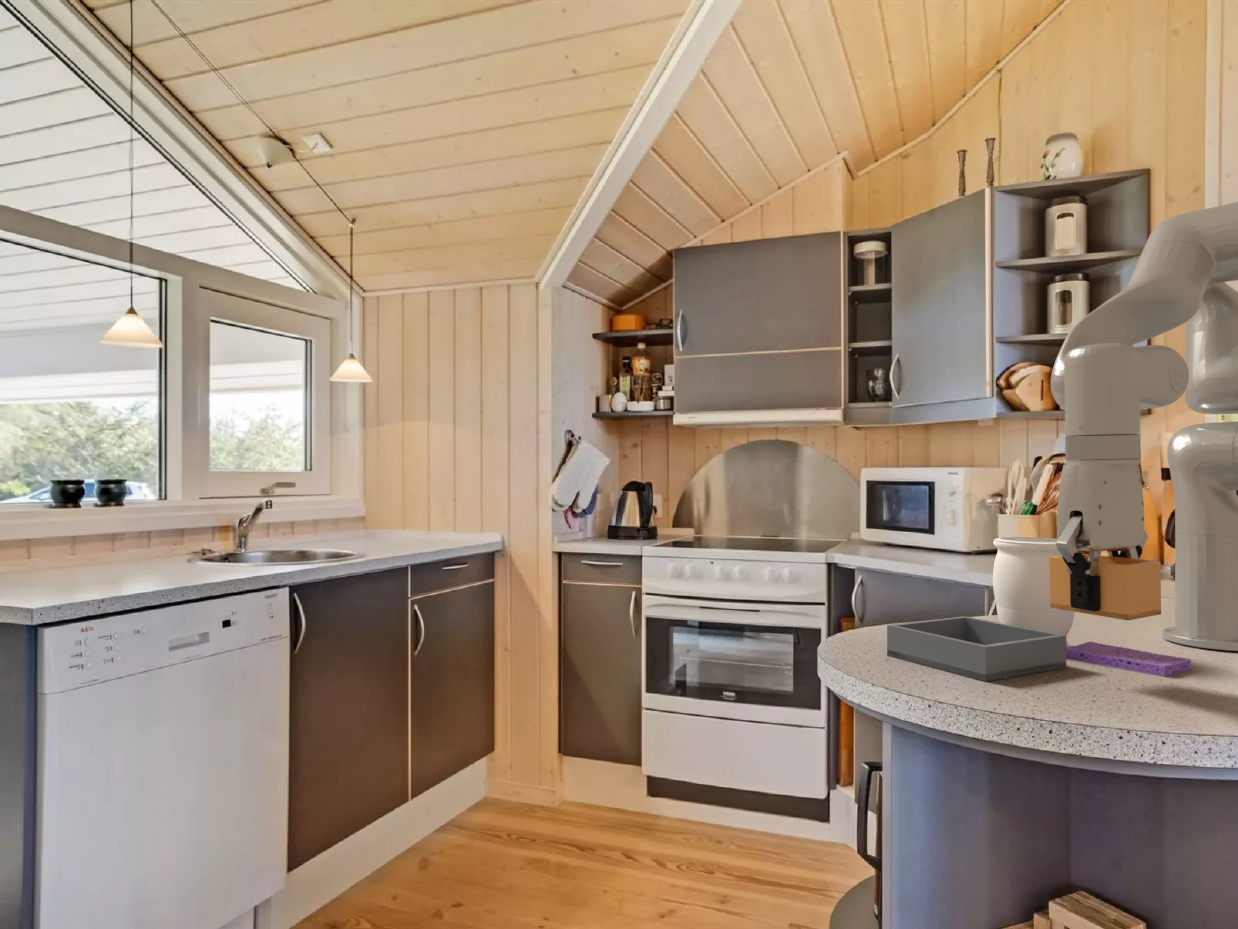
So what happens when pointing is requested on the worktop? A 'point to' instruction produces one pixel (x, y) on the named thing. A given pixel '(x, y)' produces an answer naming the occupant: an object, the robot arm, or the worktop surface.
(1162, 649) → the worktop surface
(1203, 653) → the worktop surface
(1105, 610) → the small crate
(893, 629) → the grey square tray
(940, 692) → the worktop surface
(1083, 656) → the sponges
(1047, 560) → the jar
